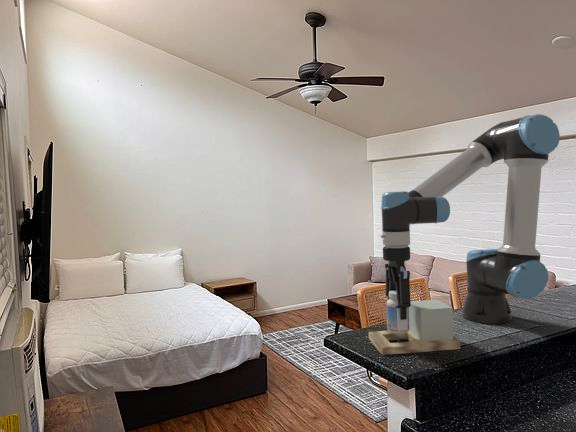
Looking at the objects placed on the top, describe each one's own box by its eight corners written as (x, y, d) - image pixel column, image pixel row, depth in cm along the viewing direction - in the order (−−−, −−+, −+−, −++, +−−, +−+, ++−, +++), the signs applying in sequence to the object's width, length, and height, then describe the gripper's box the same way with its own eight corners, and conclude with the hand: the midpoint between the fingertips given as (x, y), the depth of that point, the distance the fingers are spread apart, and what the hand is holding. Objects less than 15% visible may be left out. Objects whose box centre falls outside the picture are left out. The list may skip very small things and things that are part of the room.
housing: (438, 329, 125) (438, 299, 125) (453, 339, 116) (452, 307, 116) (409, 331, 124) (408, 301, 124) (422, 341, 115) (421, 309, 115)
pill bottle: (410, 334, 116) (409, 294, 115) (387, 334, 117) (386, 294, 116) (408, 327, 122) (407, 289, 121) (386, 327, 123) (385, 289, 122)
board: (439, 333, 127) (438, 326, 127) (460, 348, 114) (460, 341, 114) (368, 338, 125) (368, 331, 125) (382, 354, 112) (382, 347, 112)
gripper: (373, 242, 127) (375, 317, 128) (394, 251, 108) (397, 338, 109) (397, 241, 128) (399, 315, 129) (422, 249, 109) (424, 336, 110)
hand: (398, 326), depth 119 cm, fingers closed on pill bottle, 6 cm apart
